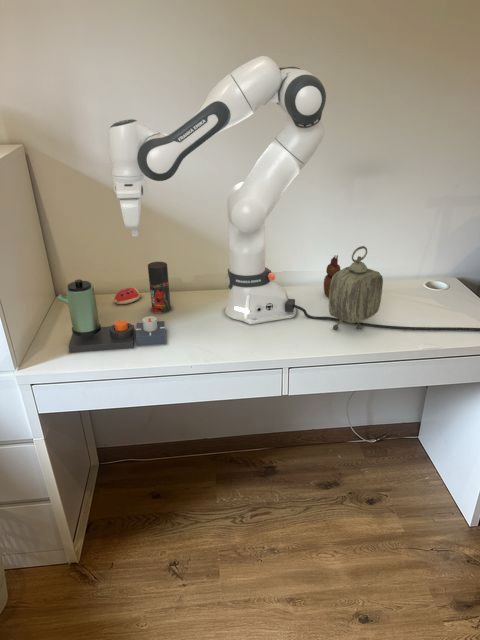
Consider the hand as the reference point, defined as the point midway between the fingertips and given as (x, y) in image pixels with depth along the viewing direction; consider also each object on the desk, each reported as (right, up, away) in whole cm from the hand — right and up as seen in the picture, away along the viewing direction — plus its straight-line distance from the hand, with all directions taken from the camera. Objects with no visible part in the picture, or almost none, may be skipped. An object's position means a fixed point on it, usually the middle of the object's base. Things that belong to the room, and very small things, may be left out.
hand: (135, 234), depth 154 cm
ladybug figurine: (-9, -16, +27) cm, 33 cm away
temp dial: (+4, -26, +2) cm, 27 cm away
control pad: (+4, -29, +4) cm, 30 cm away
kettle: (-15, -26, 0) cm, 30 cm away
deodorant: (+4, -20, +21) cm, 29 cm away
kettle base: (-9, -30, +2) cm, 32 cm away
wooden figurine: (+59, -14, +31) cm, 68 cm away
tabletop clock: (+63, -26, +10) cm, 69 cm away
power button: (-4, -27, +1) cm, 27 cm away
